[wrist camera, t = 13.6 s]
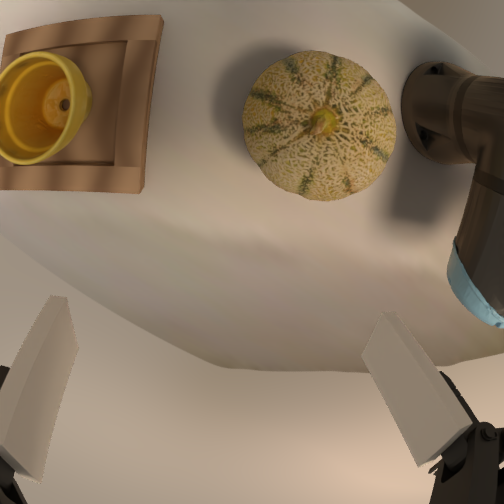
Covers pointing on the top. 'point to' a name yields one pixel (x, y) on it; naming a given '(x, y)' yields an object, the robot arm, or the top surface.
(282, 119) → the cantaloupe
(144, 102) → the walnut tray
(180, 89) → the top surface
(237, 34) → the top surface
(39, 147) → the plant pot
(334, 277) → the top surface
